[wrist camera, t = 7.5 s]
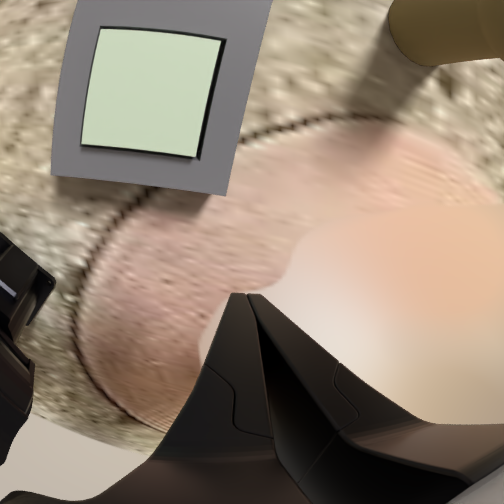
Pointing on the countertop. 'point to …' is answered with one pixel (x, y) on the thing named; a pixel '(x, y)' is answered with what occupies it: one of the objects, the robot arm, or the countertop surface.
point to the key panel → (218, 102)
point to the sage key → (149, 90)
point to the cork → (448, 30)
